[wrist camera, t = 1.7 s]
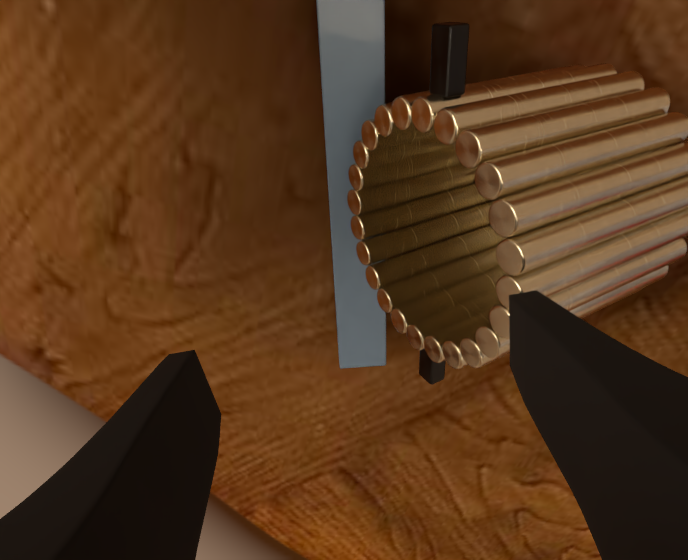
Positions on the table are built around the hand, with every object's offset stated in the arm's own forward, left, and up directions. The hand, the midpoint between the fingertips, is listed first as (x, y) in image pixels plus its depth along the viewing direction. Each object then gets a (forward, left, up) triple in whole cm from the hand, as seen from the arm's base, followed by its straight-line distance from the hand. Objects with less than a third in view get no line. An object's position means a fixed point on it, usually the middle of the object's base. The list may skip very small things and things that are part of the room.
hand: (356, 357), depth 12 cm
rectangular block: (-1, -1, -10) cm, 10 cm away
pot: (-5, -1, -10) cm, 12 cm away
